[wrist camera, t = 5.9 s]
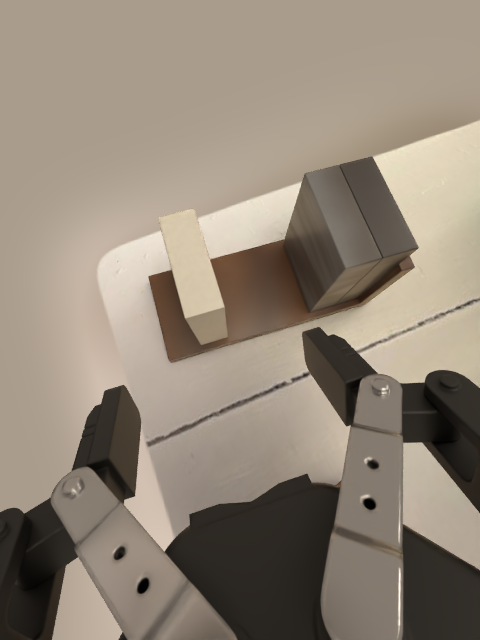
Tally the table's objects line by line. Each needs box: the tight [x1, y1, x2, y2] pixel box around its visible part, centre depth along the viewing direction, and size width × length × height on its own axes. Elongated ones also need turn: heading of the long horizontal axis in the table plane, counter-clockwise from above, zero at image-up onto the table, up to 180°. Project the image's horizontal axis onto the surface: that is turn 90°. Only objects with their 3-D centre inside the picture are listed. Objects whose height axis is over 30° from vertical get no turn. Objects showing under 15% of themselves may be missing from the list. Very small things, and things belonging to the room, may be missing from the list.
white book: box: [158, 209, 228, 345], centre depth 22 cm, size 2×7×8 cm, turn 17°
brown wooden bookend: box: [149, 157, 418, 362], centre depth 23 cm, size 18×8×10 cm, turn 107°
